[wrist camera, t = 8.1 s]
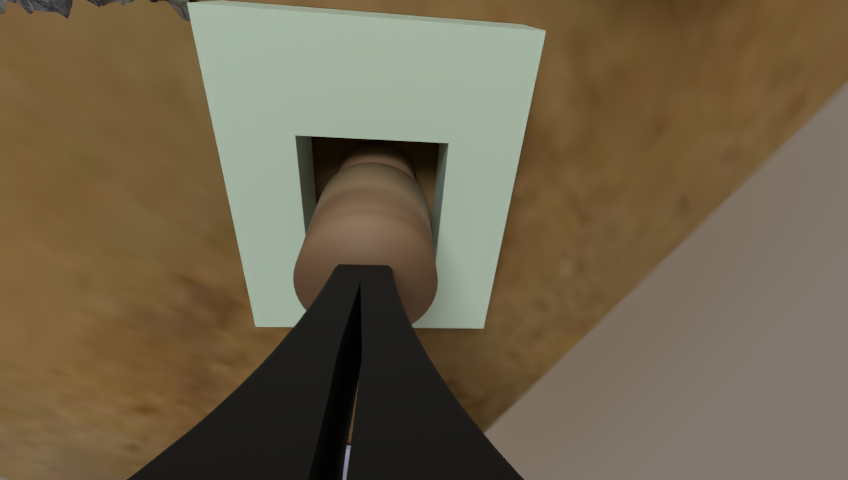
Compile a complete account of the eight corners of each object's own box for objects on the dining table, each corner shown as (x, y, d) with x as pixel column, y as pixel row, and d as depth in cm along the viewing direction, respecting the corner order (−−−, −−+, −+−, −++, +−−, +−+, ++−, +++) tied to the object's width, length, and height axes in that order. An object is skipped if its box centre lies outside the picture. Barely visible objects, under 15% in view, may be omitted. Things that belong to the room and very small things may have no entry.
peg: (421, 218, 18) (434, 334, 12) (335, 218, 17) (303, 337, 11) (424, 134, 16) (441, 223, 10) (326, 133, 15) (281, 223, 9)
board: (474, 292, 20) (483, 328, 18) (270, 289, 19) (255, 326, 17) (522, 24, 14) (546, 31, 12) (221, 0, 13) (186, 2, 11)
